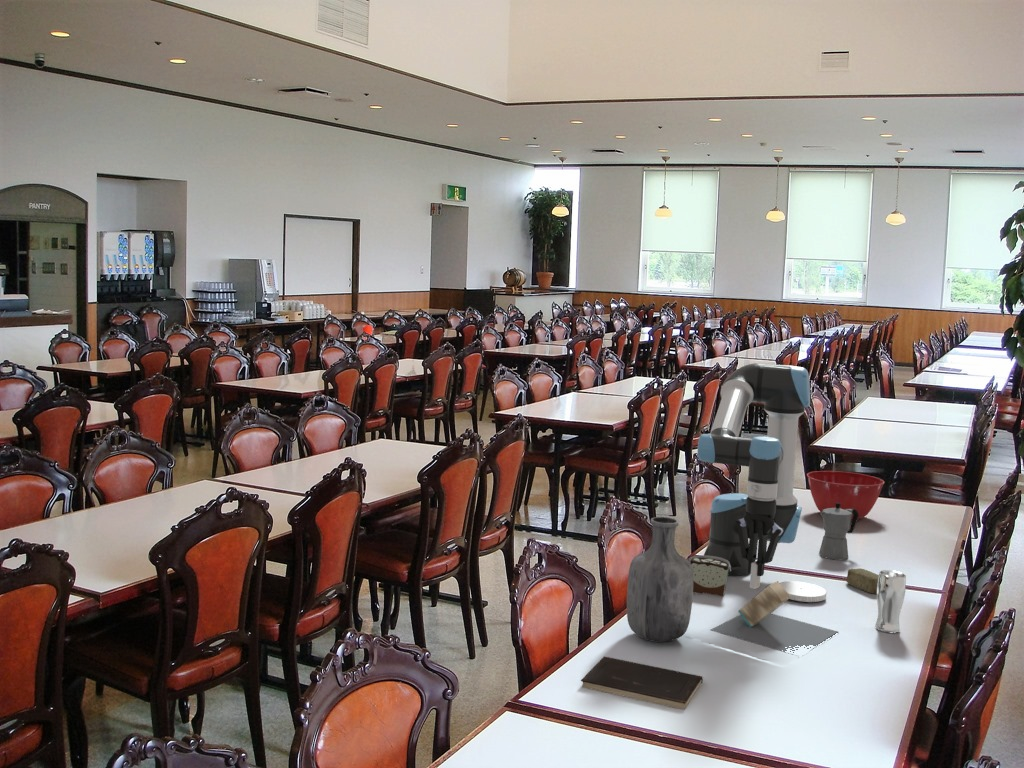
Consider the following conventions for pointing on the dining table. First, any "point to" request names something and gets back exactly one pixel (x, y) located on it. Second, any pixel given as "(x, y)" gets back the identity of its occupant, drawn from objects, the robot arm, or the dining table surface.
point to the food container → (709, 574)
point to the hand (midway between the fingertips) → (754, 587)
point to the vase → (660, 587)
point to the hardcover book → (642, 682)
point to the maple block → (764, 604)
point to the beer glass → (890, 599)
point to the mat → (776, 632)
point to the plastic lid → (804, 591)
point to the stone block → (863, 580)
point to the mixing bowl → (844, 490)
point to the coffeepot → (837, 531)
